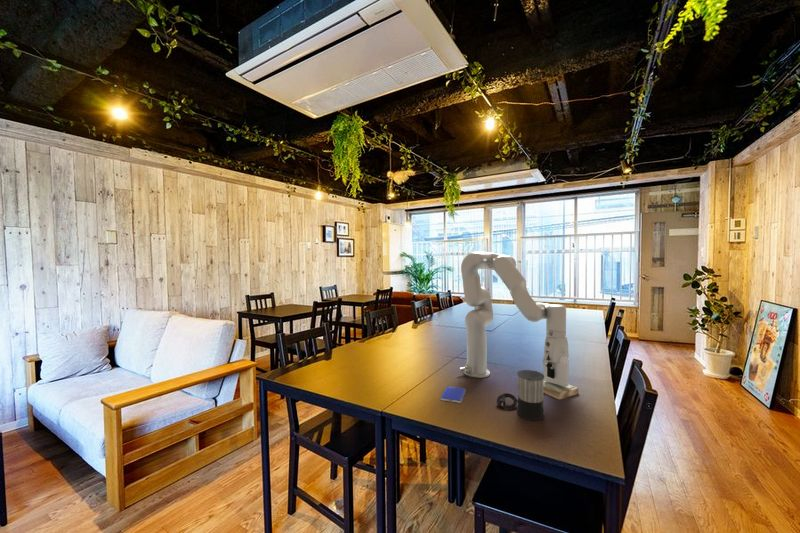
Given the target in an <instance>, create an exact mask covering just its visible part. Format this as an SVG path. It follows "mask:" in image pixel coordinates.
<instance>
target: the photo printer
mask: <svg viewBox="0 0 800 533" xmlns="http://www.w3.org/2000/svg"><path fill="white" fill-rule="evenodd" d="M543 359H544V355H543V357H542V360H543ZM551 363H552V362H550V364H551ZM569 365H570V361H569V358H566V357H564V356H563V357H561V358H560V360H559V362H557V363H555V364H554V368H553V369H555V378H554V379H553V378H550V377H548V376H547V367H546V365H545V364H544V363H543V362H542V374H543V375H544V378H543V381H548V382H551V383H554V384H558V385H562V386H569V385H570V373H569V372H570V366H569Z"/></svg>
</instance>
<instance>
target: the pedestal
mask: <svg viewBox="0 0 800 533" xmlns="http://www.w3.org/2000/svg"><path fill="white" fill-rule="evenodd" d="M543 394H546V395H547V396H550V397H552V398H554V399H557V400H563V399H566V398H569V397H572V396H576V395H579V387H578V386H574V385H572V384H569V386H562V385H558V384H554V383H551V382H548V381H544V380H543Z"/></svg>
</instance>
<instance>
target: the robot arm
mask: <svg viewBox="0 0 800 533" xmlns="http://www.w3.org/2000/svg"><path fill="white" fill-rule="evenodd" d="M484 269H485V270H492V271H494V272H495V273H496V275H497V276H498V277H499V279H500V280H501V282H503V284H504V285H505V286H506V288H507V289H508V291H509V294H510V296H511V298H512V300H513V303H514V304H515V306H516V307H517V309H518V310H519V311H520V313H521V315H522V316H523V318H525V319H526V320H528V322H533V323H537V322H539V321H541V320H545V321H546V322H545V323H546V324H545V325H546V326H545V332H546V334H545V339H544V340H545V341H544V345H543V346H544V347H543V348H544V349H543V356H544V359H543V358H542V364H543V363H544V364H545V365H546V367H547V376H548V377H550V378H553V379H554V378H555V369H553V368H554V364H555V363H557V362H559V360H560V358H561V357H563V356H564V357H566V358H568V359H570V358H569V356H570V354H569V342H568V337H567V307H566V306H565V305H564V304H558V303H551V304H550V303H544V302H540V301H535V300H534V299H533V297H532V296H531V295H530V293H529V290H528V288H527V280H526V278H525V277H524V276H523V274H522V273H521V272H520V271H519V269H518V268H517V261H516V259H515V258H514V257H513V256H511V255H509V254H499V253H495V252H490V251H489V252H488V251H472V252H469V253H468V254H466V256H465V257H464V258H463V260H462V261H461V265H460V271H461V272H460V273H461V277H462V287H463V294H464V300H465V303H466V305H468V306H469V307H473V308H474V309H472V310H470V311H469V312H467V313H466V315H465V317H464V319H465V320H464V323H465V324H464V326H465V329H466V330H465V331H466V363H464V364H465V365H464V366H463V367H459V368H458V372H460V373H461V372H463V374H464V375H466V376H468V377H471V378H475V379H476V378H477V379H478V378H479V379H482V378H488V377H489V376H490V374H491V372H490V370H489V369H488V368H487V367H488V364H487V363H488V361H487V358H488V357H487V356H488V355H487V354H488V352H487V351H488V350H487V349H488V347H487V345H488V344H487V343H488V342H487V341H488V340H487V331H486V327H487V326H489V325H491V323H492V322H493V320H494V310H493V305H492V296H491V293H490V292H489V290H488V289H487V288H486V287H484V286H482V283H481V277H480V274H479V270H484ZM550 362H552V363H551V364H550Z"/></svg>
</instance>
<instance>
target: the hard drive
mask: <svg viewBox="0 0 800 533" xmlns="http://www.w3.org/2000/svg"><path fill="white" fill-rule="evenodd" d="M466 391H467V390H466V388H465V387H464V388H463V387H459V386H458V387H457V386H450V385H449V386H448V385H447V386H446V387H445V389H444V391H443V393H442V395H441V396H440V401H443V402H444V401H445V402H450V403H459V404H461V403H462V401H463V399H464V396H465V393H466Z"/></svg>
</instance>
